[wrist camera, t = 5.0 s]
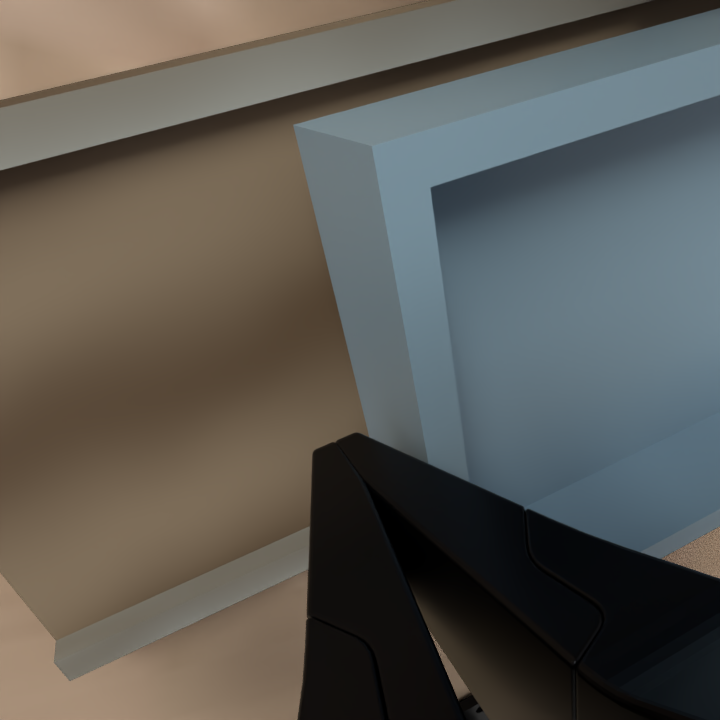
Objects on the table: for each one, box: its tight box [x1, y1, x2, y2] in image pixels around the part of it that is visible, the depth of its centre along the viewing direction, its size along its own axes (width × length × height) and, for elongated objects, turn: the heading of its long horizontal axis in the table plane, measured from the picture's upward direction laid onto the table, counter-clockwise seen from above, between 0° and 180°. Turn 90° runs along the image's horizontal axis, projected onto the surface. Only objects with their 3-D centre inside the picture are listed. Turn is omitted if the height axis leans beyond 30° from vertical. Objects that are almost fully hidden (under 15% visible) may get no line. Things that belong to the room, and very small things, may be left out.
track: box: [0, 0, 720, 681], centre depth 14 cm, size 12×29×2 cm, turn 103°
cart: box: [293, 8, 720, 559], centre depth 12 cm, size 10×16×5 cm, turn 103°
